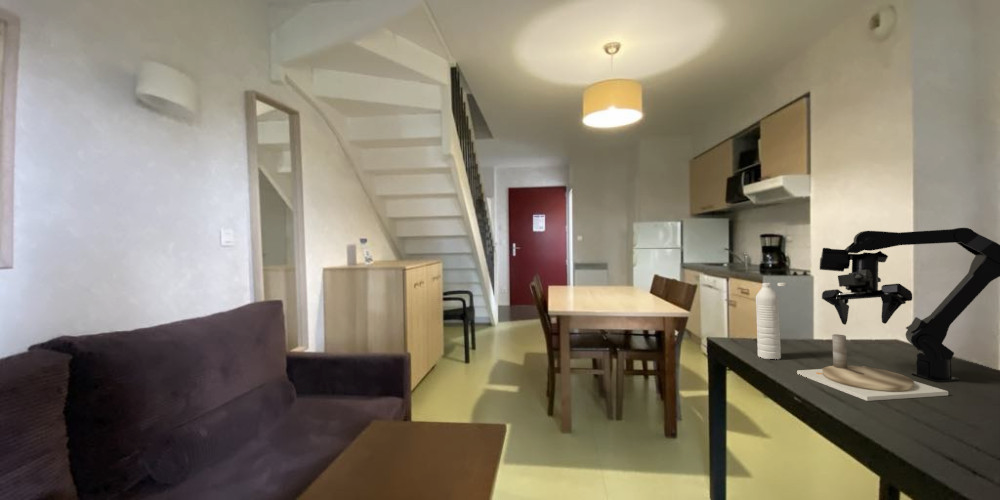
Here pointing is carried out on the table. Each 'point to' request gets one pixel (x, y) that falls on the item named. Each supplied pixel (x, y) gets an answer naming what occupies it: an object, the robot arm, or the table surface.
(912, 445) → the table surface
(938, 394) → the base
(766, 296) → the water bottle
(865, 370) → the dial
